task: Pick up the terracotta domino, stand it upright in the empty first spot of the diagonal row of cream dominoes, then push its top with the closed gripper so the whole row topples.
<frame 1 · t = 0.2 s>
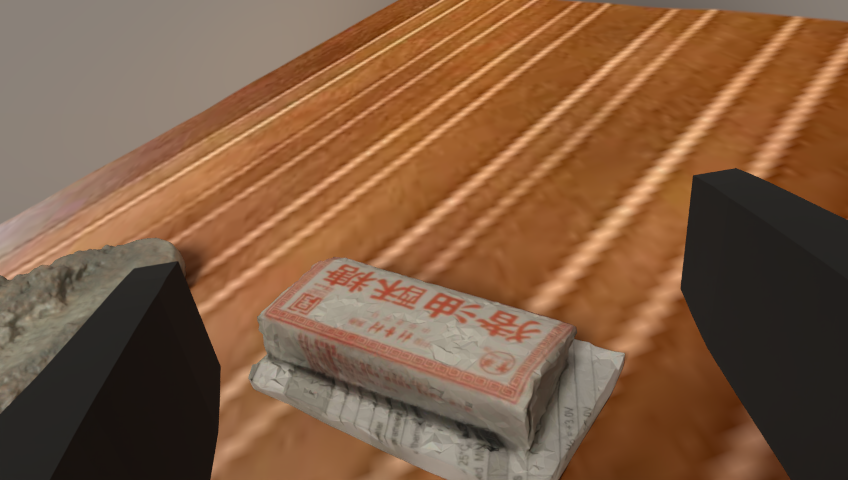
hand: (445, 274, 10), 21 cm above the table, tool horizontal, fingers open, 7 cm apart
packaged product: (430, 386, 39), on the table
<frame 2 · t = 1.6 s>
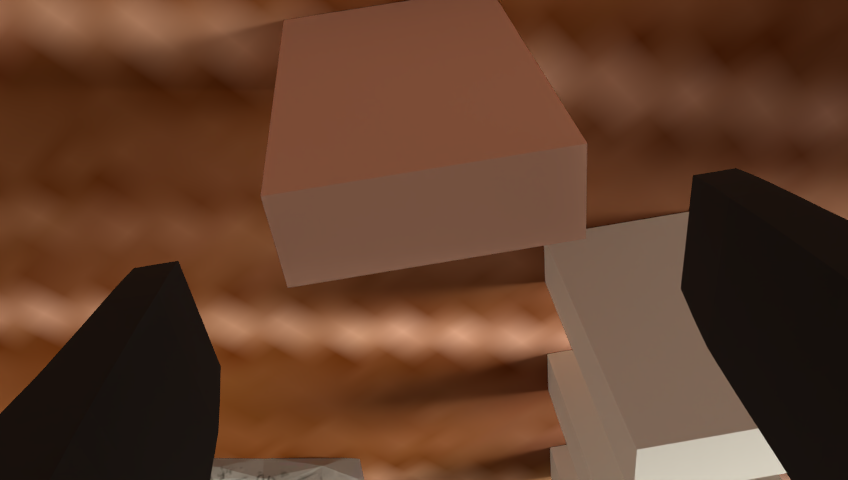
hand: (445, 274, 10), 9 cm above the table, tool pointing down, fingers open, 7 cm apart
domino 3: (618, 360, 26), on the table
domino 2: (623, 246, 23), on the table
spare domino: (392, 40, 18), on the table
domino 4: (613, 451, 29), on the table
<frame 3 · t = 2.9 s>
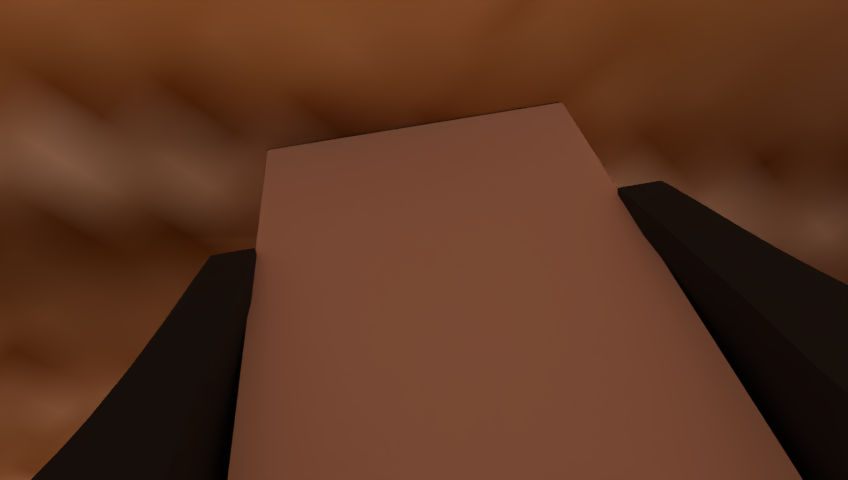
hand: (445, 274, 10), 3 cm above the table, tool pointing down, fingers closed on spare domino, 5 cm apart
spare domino: (422, 172, 13), on the table, touching gripper
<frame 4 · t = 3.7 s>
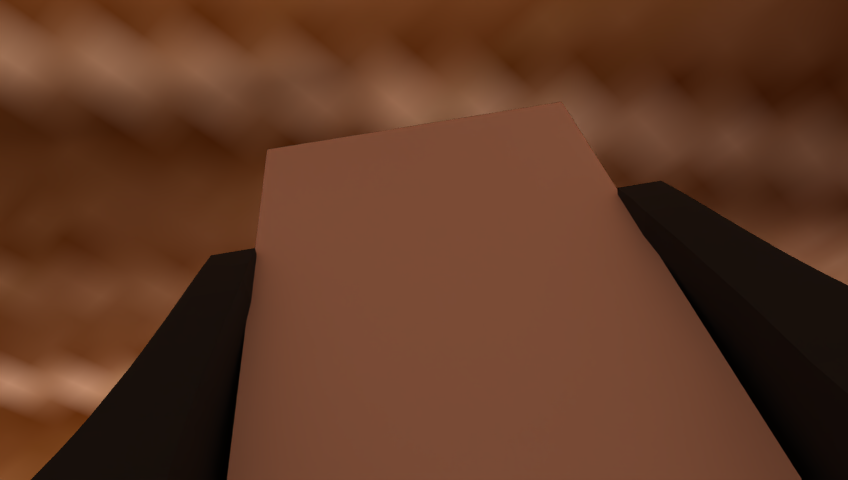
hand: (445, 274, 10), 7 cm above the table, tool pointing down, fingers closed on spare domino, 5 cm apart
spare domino: (421, 171, 13), point 4 cm above the table, touching gripper
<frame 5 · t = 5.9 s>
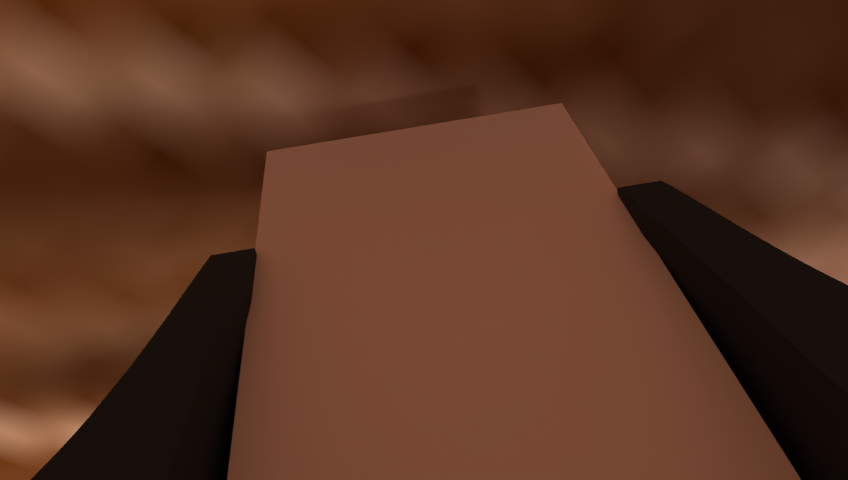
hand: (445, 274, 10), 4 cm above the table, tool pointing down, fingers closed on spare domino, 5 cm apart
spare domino: (421, 173, 13), point 2 cm above the table, touching gripper
when the fingers open (4 cm above the table, at t = 6.6 s): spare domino drops 1 cm, on the table.
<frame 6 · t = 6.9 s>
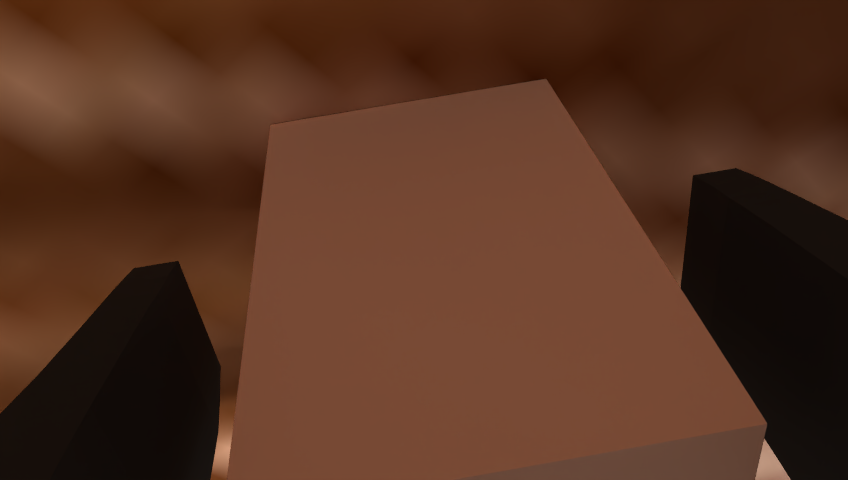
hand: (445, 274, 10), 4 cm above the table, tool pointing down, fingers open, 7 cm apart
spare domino: (415, 145, 14), on the table
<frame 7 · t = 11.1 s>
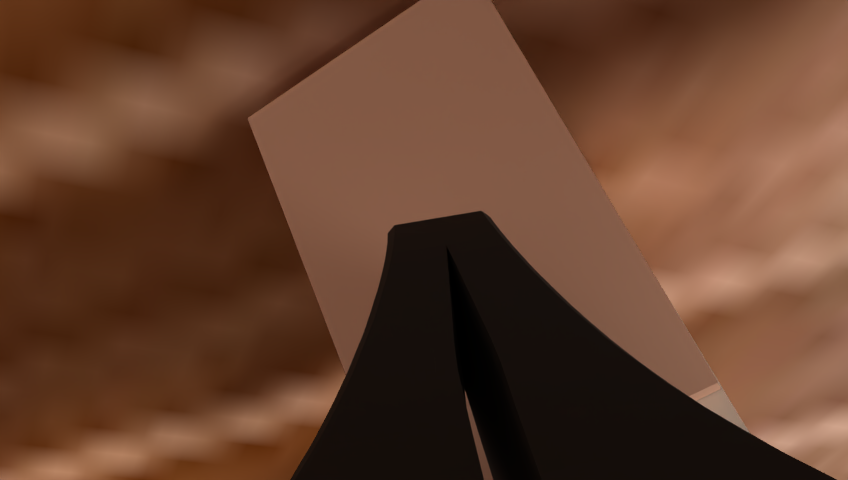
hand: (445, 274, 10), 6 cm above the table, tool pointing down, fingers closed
domino 2: (493, 222, 17), on the table, tilted 11°
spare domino: (375, 67, 14), on the table, tilted 33°
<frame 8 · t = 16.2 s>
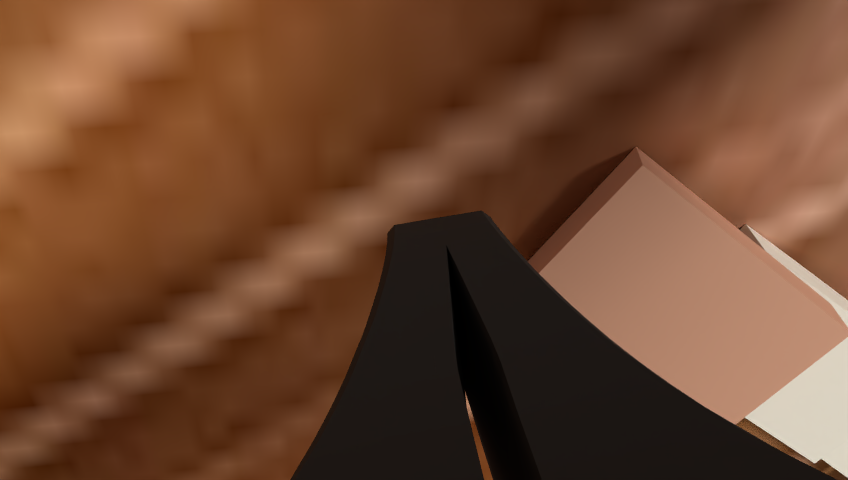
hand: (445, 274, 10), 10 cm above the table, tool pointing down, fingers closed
domino 3: (798, 354, 28), on the table, tilted 90°, touching domino 2
domino 2: (697, 290, 24), point 1 cm above the table, tilted 78°, touching domino 3, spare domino
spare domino: (580, 217, 22), point 1 cm above the table, tilted 71°, touching domino 2
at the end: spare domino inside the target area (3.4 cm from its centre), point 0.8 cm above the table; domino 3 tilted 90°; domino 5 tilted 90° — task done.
